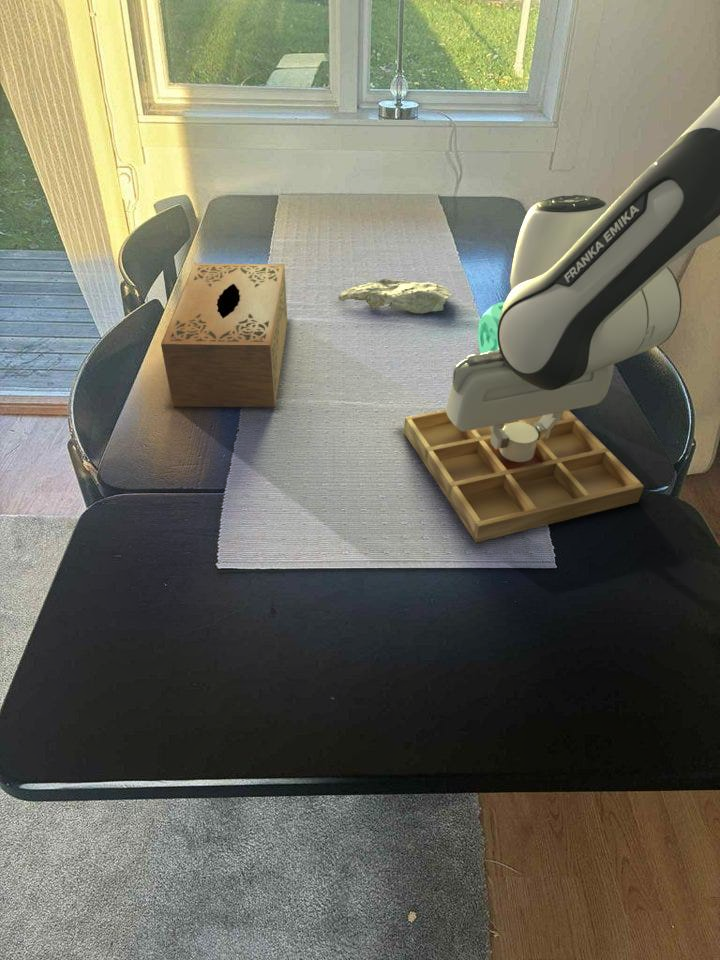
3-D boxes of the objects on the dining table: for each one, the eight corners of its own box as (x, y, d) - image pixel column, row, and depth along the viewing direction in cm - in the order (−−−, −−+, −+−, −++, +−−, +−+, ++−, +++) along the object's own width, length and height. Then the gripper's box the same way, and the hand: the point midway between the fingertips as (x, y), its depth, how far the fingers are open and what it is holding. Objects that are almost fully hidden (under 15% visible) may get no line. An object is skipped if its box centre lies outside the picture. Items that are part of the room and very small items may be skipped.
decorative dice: (519, 343, 114) (527, 297, 109) (542, 368, 108) (552, 321, 103) (474, 349, 112) (480, 303, 107) (495, 375, 107) (503, 328, 101)
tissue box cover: (275, 407, 99) (270, 345, 93) (172, 406, 99) (160, 344, 92) (287, 320, 119) (284, 264, 112) (202, 319, 118) (194, 263, 112)
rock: (339, 302, 124) (339, 289, 122) (355, 278, 132) (355, 265, 131) (443, 316, 120) (445, 303, 119) (453, 290, 129) (455, 277, 127)
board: (638, 502, 85) (644, 486, 83) (475, 542, 79) (478, 526, 78) (545, 404, 101) (548, 389, 99) (403, 432, 95) (404, 416, 93)
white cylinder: (540, 458, 88) (545, 439, 86) (509, 465, 87) (513, 446, 85) (523, 438, 91) (527, 419, 89) (493, 444, 90) (496, 425, 88)
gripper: (468, 373, 74) (454, 473, 83) (631, 343, 79) (602, 440, 88) (443, 344, 78) (433, 442, 87) (599, 318, 84) (574, 413, 93)
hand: (519, 441), depth 88 cm, fingers closed on white cylinder, 4 cm apart
